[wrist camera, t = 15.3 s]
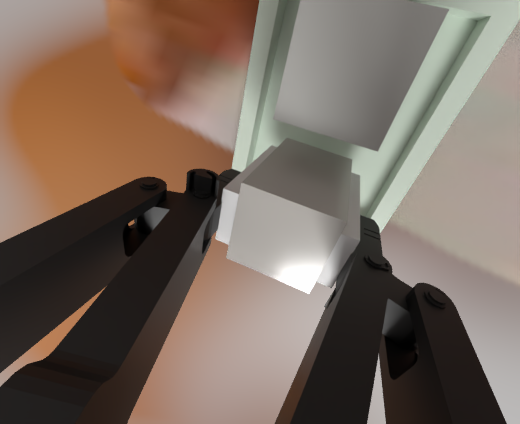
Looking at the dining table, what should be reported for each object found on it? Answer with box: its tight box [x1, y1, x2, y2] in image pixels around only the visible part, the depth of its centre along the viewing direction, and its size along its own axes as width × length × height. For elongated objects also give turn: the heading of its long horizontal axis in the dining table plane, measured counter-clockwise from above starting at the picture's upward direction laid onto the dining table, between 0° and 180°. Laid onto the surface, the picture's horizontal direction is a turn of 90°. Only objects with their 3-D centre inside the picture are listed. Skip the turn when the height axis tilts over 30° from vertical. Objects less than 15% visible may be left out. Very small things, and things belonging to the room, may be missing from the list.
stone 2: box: [273, 0, 449, 152], centre depth 11 cm, size 4×4×7 cm
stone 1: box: [226, 138, 352, 294], centre depth 13 cm, size 4×4×7 cm
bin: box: [232, 0, 520, 233], centre depth 15 cm, size 14×11×2 cm
